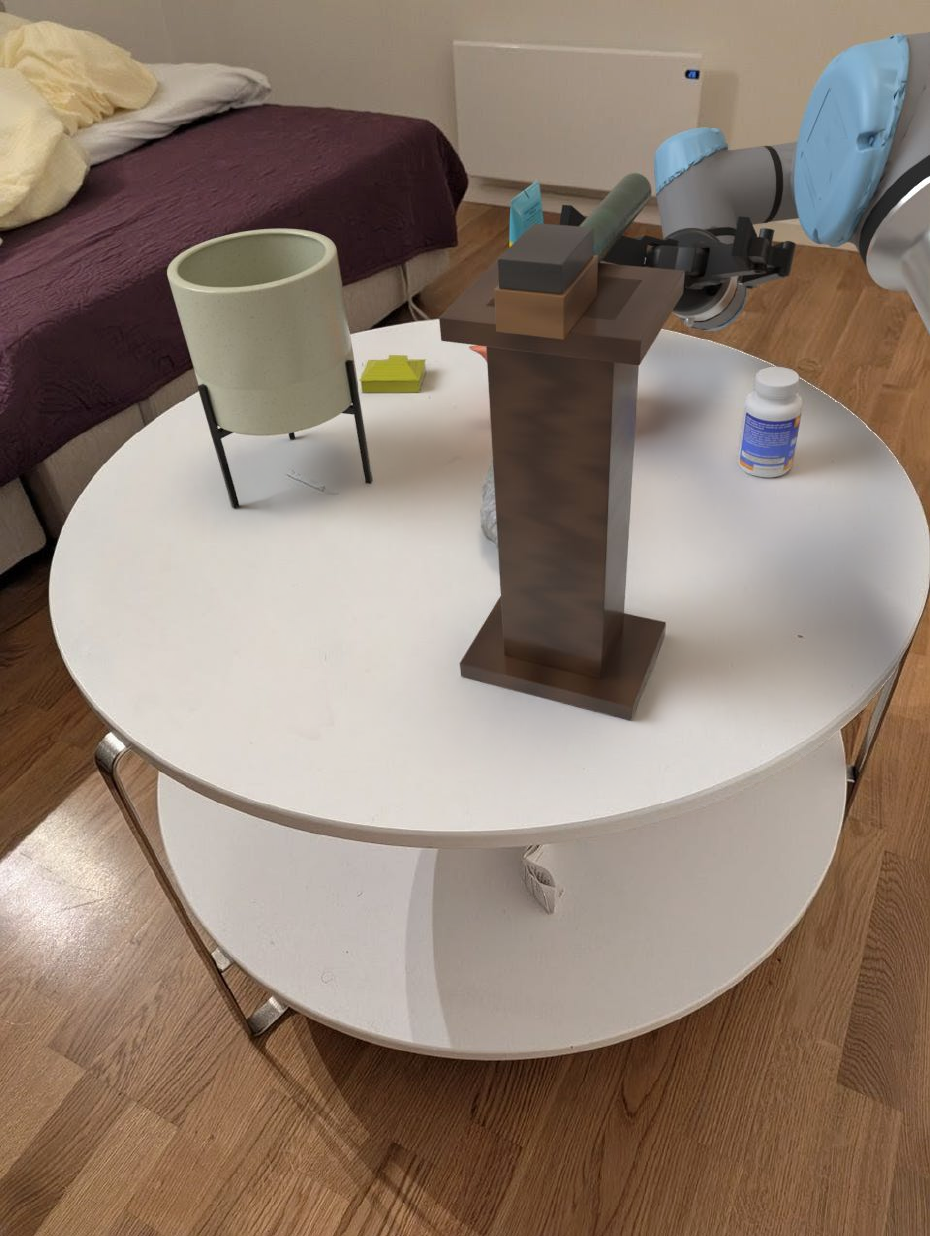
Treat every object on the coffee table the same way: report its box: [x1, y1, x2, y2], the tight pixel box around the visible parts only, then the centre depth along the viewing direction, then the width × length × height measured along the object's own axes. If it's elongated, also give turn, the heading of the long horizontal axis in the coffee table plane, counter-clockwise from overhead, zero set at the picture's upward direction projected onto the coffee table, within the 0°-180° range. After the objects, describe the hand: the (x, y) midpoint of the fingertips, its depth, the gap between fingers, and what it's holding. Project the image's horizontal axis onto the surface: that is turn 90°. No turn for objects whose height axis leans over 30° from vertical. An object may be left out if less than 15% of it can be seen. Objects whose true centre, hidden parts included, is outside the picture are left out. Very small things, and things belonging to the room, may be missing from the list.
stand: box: [438, 259, 685, 721], centre depth 65 cm, size 14×10×30 cm
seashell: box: [480, 460, 498, 549], centre depth 86 cm, size 6×14×8 cm, turn 177°
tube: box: [508, 180, 545, 248], centre depth 110 cm, size 7×5×19 cm, turn 158°
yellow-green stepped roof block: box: [358, 354, 438, 399], centre depth 112 cm, size 10×9×3 cm
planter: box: [166, 228, 374, 509], centre depth 90 cm, size 15×16×23 cm
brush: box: [494, 172, 653, 339], centre depth 56 cm, size 21×4×4 cm, turn 157°
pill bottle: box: [737, 366, 804, 478], centre depth 90 cm, size 5×5×10 cm
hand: (648, 229), depth 70 cm, fingers open, 13 cm apart
